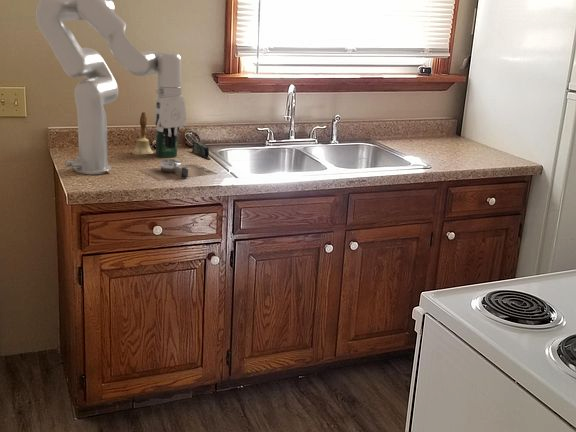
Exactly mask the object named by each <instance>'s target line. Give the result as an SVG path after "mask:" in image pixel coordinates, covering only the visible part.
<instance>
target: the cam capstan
mask: <svg viewBox="0 0 576 432" xmlns="http://www.w3.org/2000/svg"><path fill="white" fill-rule="evenodd" d="M181 165H182V161H181V160H178V159H173V158H169V159H168V158H167V159H162V160H160V168H161V171H164V172H175V173H177V174H179V175H181V177H187V178H189V177H188V168H187V167H182V166H181Z"/></svg>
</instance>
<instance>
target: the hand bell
mask: <svg viewBox="0 0 576 432" xmlns="http://www.w3.org/2000/svg"><path fill="white" fill-rule="evenodd" d="M139 124H140V137H139V138H138V139H136V145H135V148H134V149H133V150H132V152H131V154H132V155H135V156H139V155H149V154H150V155H151V154H154V151H153V150H152V148H151V147H150V140H149V139H148V138H146V129H147V128H146V127H147V124H148V118H147V115H146V112H144V111H143V112H141V114H140V118H139Z"/></svg>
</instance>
